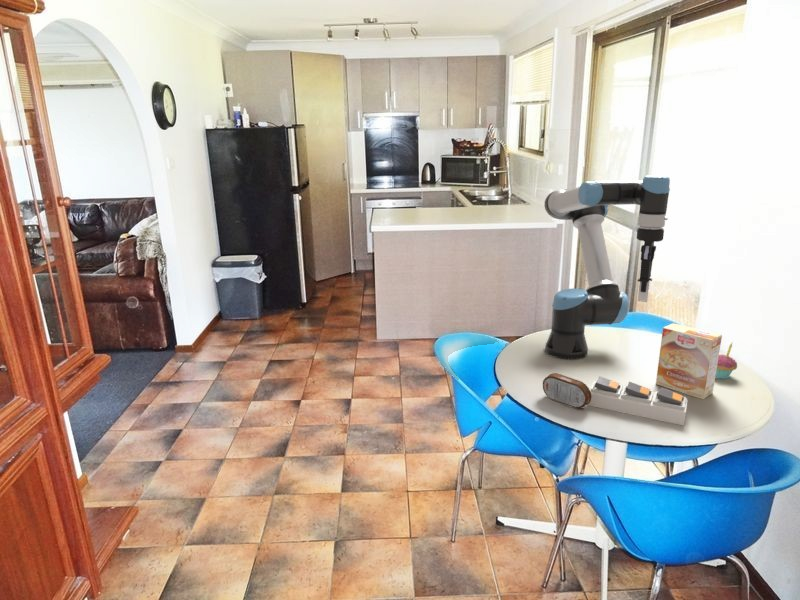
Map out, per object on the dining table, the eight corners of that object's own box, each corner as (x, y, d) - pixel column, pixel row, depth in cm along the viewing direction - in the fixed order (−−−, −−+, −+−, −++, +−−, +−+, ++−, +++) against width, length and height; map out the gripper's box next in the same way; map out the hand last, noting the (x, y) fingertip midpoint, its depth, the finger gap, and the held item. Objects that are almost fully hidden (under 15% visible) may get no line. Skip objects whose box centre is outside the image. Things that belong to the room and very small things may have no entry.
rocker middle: (625, 392, 160) (626, 387, 160) (627, 386, 164) (629, 381, 164) (646, 400, 158) (648, 395, 157) (648, 394, 162) (650, 388, 161)
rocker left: (594, 387, 164) (596, 382, 164) (597, 380, 168) (599, 375, 168) (615, 394, 162) (616, 389, 161) (617, 387, 166) (619, 382, 165)
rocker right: (656, 398, 156) (659, 393, 156) (658, 392, 160) (660, 386, 160) (679, 407, 154) (681, 402, 153) (680, 400, 158) (682, 395, 157)
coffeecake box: (654, 384, 178) (662, 327, 172) (665, 378, 182) (672, 322, 177) (703, 400, 167) (713, 339, 161) (713, 393, 171) (722, 334, 166)
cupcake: (726, 370, 187) (732, 337, 184) (740, 381, 179) (746, 347, 175) (700, 370, 187) (705, 337, 184) (713, 381, 179) (719, 347, 176)
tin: (590, 409, 162) (593, 383, 160) (585, 413, 160) (587, 387, 158) (545, 394, 172) (547, 369, 170) (540, 397, 170) (541, 372, 168)
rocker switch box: (578, 403, 166) (579, 388, 165) (584, 391, 173) (586, 376, 172) (683, 425, 152) (686, 409, 151) (685, 411, 160) (688, 396, 159)
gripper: (662, 231, 162) (653, 308, 168) (666, 225, 173) (657, 297, 179) (634, 229, 165) (626, 304, 172) (640, 223, 176) (632, 294, 183)
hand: (642, 300), depth 176 cm, fingers closed
